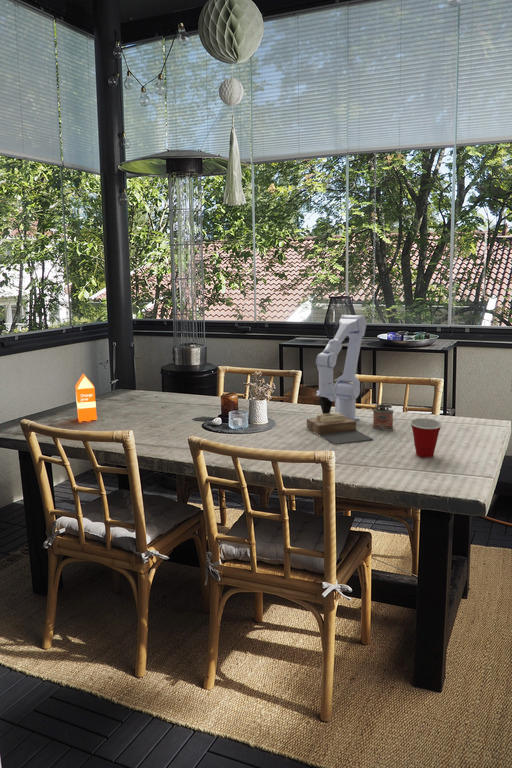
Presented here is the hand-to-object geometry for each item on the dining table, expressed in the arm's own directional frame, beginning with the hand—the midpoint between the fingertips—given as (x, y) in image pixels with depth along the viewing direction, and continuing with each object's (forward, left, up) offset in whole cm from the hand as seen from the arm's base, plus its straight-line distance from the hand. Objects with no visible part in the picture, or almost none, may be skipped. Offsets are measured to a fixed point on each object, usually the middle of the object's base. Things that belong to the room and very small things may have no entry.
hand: (326, 415), depth 270 cm
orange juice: (-55, -90, -5) cm, 106 cm away
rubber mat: (+18, 0, -5) cm, 18 cm away
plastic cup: (+49, +15, -5) cm, 51 cm away
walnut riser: (+5, 0, -5) cm, 7 cm away
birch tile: (+4, 0, -1) cm, 4 cm away
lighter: (+11, +20, -5) cm, 23 cm away
